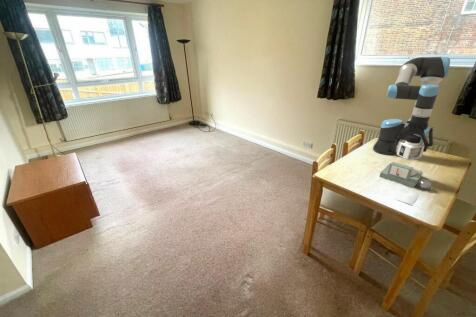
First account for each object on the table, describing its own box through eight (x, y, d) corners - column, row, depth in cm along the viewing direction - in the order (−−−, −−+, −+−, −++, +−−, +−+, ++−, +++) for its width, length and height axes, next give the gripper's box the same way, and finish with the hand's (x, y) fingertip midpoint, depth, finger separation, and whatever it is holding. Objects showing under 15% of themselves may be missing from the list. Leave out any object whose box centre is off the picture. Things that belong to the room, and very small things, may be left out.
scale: (389, 166, 143) (393, 152, 139) (421, 176, 132) (427, 161, 127) (379, 177, 133) (383, 162, 129) (413, 188, 121) (419, 172, 117)
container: (407, 160, 124) (414, 138, 119) (396, 154, 131) (402, 133, 125) (419, 158, 125) (427, 137, 119) (407, 153, 132) (414, 132, 126)
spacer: (418, 184, 125) (420, 178, 123) (429, 187, 121) (432, 181, 120) (416, 188, 122) (418, 181, 120) (427, 191, 118) (430, 185, 117)
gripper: (393, 113, 123) (383, 150, 133) (448, 121, 108) (432, 162, 117) (398, 110, 128) (388, 146, 137) (450, 117, 112) (435, 157, 122)
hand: (408, 153), depth 127 cm, fingers closed on container, 10 cm apart
